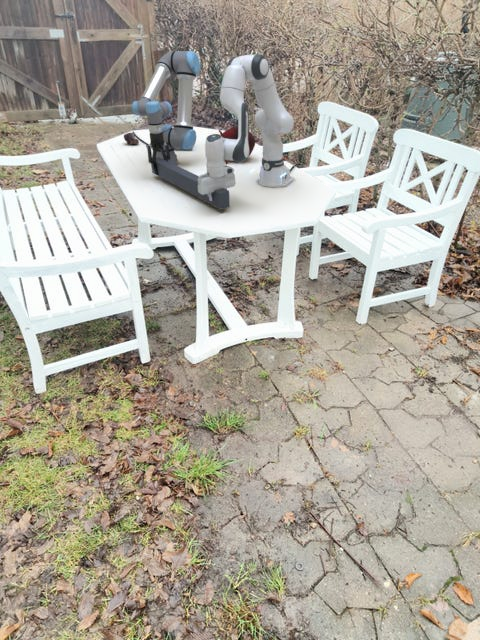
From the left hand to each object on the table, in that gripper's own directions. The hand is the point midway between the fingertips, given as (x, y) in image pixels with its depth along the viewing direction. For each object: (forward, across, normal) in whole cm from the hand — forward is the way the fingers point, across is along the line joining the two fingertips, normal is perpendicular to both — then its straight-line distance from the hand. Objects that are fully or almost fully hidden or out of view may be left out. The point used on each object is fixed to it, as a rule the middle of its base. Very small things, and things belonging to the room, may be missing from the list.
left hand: (161, 173), depth 265 cm
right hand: (-2, 0, -61) cm, 61 cm away
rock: (+5, +21, +90) cm, 93 cm away
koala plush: (+5, +45, +57) cm, 73 cm away
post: (0, 0, -30) cm, 31 cm away
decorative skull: (+5, +61, +8) cm, 62 cm away
